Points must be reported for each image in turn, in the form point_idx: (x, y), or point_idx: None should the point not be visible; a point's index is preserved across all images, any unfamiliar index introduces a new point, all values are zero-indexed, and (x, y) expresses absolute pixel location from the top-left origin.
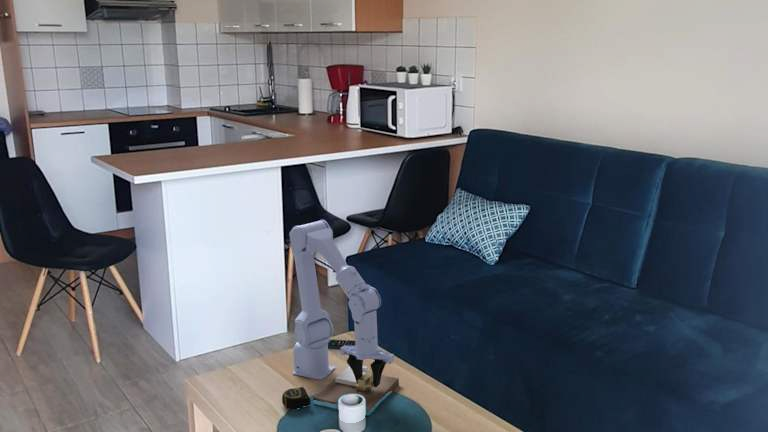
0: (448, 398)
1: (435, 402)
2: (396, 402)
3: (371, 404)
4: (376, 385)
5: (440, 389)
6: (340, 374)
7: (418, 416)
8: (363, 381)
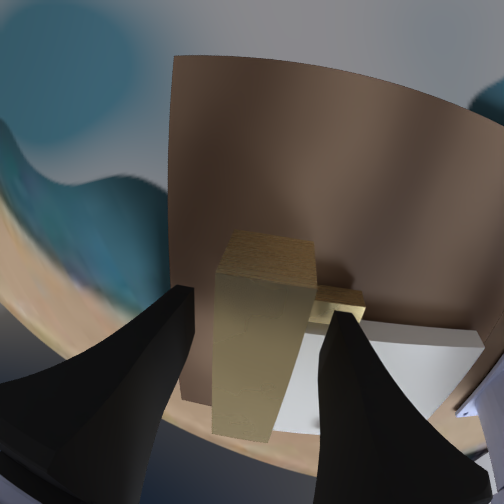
0: (20, 307)
1: (26, 280)
2: (124, 254)
3: (177, 128)
4: (168, 295)
5: (64, 352)
6: (457, 380)
7: (12, 171)
8: (237, 271)
